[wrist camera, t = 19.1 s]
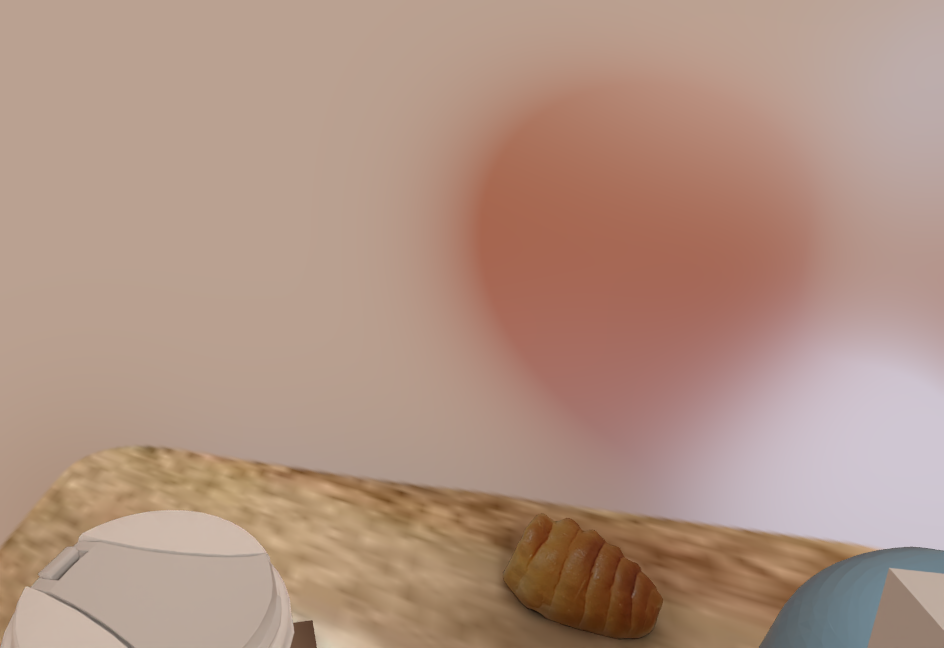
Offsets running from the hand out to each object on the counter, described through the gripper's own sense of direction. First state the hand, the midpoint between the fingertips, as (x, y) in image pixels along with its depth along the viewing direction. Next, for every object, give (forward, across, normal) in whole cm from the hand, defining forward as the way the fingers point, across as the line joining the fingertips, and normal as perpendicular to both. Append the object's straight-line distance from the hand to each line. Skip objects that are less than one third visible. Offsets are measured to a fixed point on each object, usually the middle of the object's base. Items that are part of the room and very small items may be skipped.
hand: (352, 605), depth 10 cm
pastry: (+34, +9, -22) cm, 41 cm away
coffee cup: (+15, -8, -23) cm, 29 cm away
